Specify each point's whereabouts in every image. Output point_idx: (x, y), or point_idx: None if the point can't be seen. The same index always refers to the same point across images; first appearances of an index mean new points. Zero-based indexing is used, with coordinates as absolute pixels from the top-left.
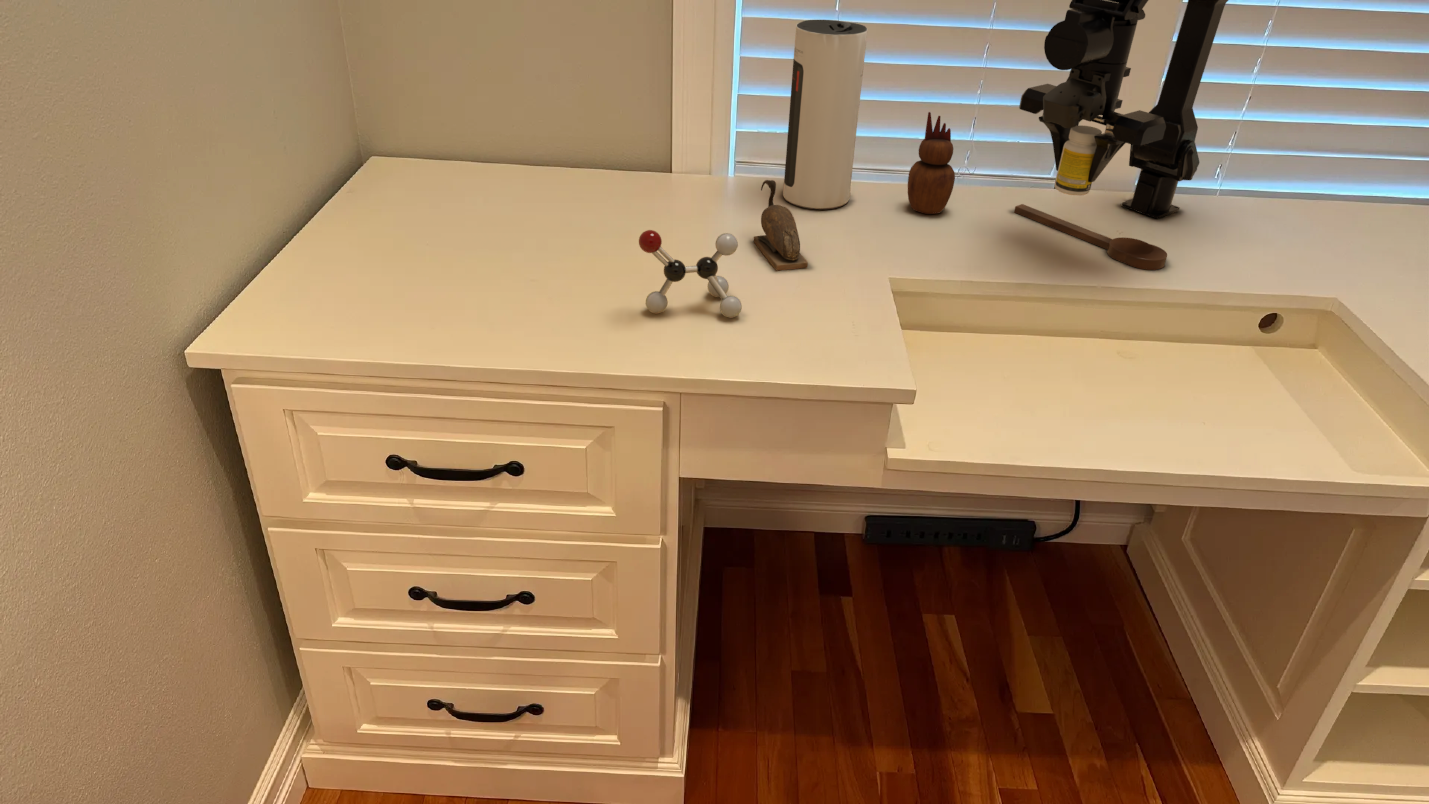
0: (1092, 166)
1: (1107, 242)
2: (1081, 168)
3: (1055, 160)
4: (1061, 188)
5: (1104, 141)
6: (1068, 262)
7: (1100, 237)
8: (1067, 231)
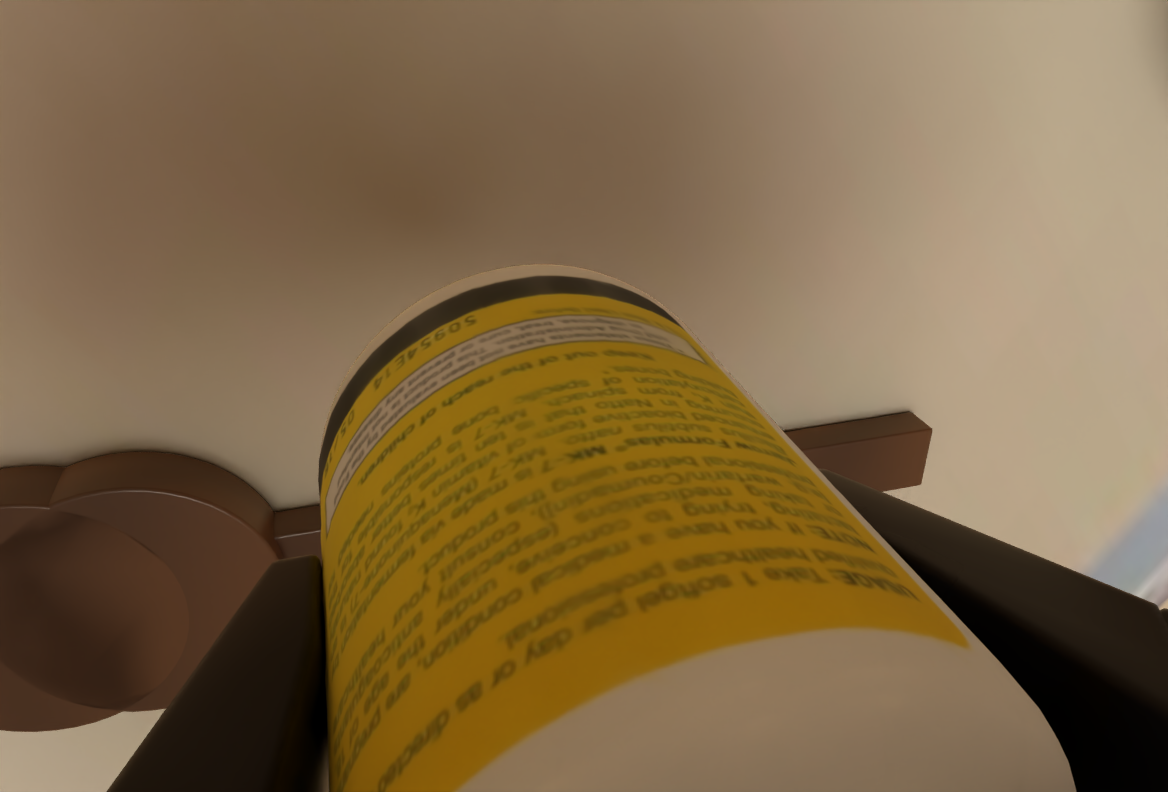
0: (250, 717)
1: (293, 535)
2: (401, 558)
3: (928, 516)
4: (541, 273)
5: None
6: (232, 129)
7: None
8: None
